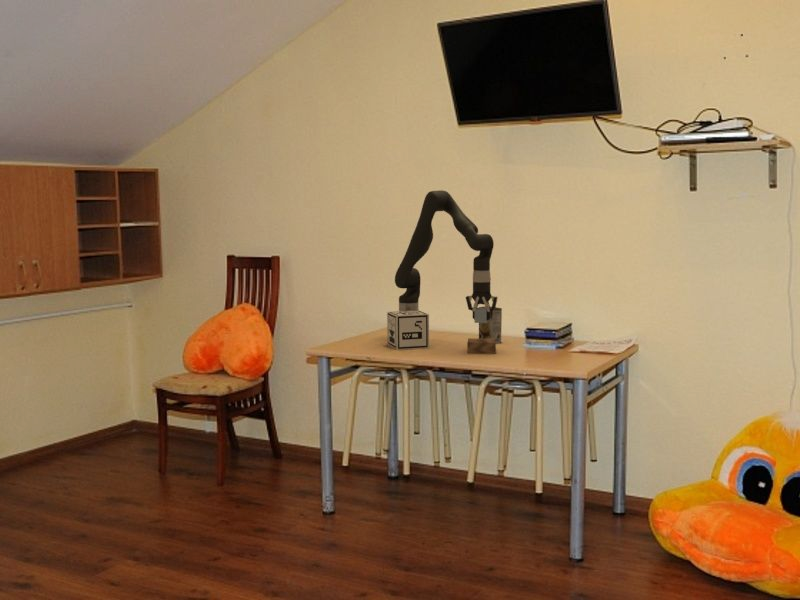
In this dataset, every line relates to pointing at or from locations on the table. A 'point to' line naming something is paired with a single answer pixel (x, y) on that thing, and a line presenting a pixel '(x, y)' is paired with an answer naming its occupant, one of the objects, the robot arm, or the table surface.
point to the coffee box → (492, 326)
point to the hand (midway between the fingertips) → (481, 319)
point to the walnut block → (481, 346)
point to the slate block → (481, 315)
